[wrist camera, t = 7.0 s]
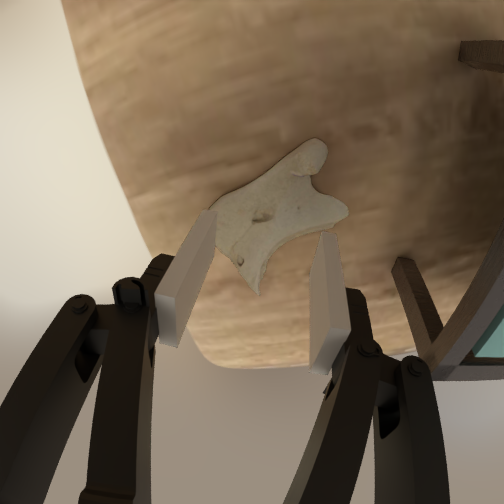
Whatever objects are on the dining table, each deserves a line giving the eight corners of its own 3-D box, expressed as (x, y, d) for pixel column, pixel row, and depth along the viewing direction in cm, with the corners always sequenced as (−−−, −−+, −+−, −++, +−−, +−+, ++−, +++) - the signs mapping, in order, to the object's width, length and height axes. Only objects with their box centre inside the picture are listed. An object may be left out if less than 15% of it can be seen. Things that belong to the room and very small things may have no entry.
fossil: (369, 200, 21) (381, 222, 18) (256, 276, 26) (251, 304, 23) (309, 123, 19) (313, 133, 16) (195, 217, 24) (181, 241, 21)
